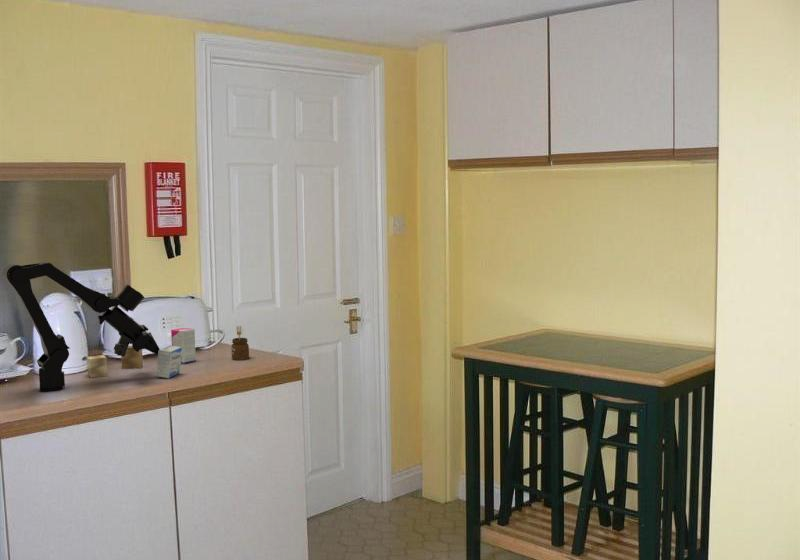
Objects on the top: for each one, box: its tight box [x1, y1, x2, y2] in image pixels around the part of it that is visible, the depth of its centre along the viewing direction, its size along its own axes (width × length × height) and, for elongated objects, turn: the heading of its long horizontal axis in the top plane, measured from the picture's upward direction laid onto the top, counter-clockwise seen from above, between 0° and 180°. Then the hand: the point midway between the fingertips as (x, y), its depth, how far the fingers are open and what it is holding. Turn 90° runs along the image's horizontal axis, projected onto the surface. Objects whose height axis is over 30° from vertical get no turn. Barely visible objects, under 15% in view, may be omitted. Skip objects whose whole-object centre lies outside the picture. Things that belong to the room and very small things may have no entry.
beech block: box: [86, 354, 108, 379], centre depth 277 cm, size 5×5×6 cm
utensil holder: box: [231, 325, 250, 361], centre depth 300 cm, size 6×6×12 cm
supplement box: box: [170, 327, 197, 365], centre depth 296 cm, size 6×6×12 cm
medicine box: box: [155, 345, 182, 379], centre depth 274 cm, size 8×4×9 cm, turn 169°
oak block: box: [120, 345, 144, 370], centre depth 289 cm, size 6×4×7 cm, turn 94°
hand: (161, 354), depth 273 cm, fingers closed
